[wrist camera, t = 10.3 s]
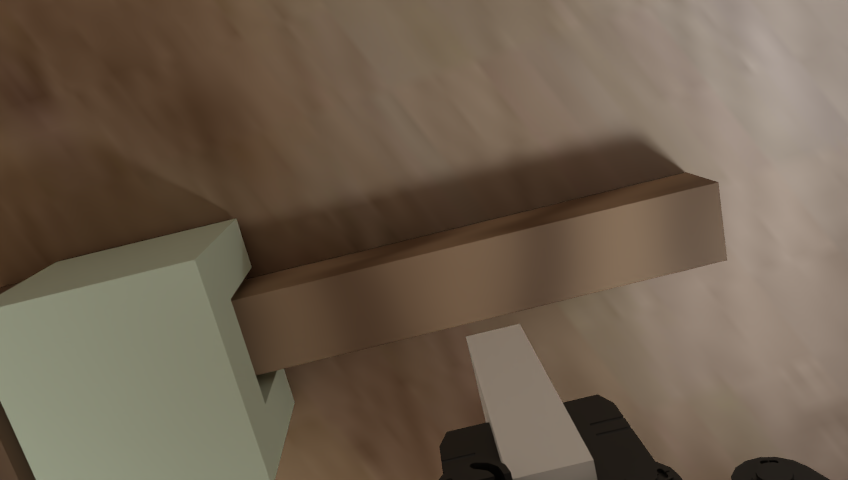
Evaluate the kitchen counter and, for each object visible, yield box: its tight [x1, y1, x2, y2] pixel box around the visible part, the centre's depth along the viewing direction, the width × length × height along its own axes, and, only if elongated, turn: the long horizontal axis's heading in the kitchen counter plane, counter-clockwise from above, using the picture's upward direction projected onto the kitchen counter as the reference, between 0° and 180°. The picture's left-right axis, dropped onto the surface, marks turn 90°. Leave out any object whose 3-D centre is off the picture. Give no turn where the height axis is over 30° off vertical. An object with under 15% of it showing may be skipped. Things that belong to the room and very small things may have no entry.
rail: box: [0, 172, 727, 480], centre depth 23 cm, size 27×7×6 cm, turn 103°
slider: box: [0, 219, 295, 480], centre depth 23 cm, size 7×8×6 cm
